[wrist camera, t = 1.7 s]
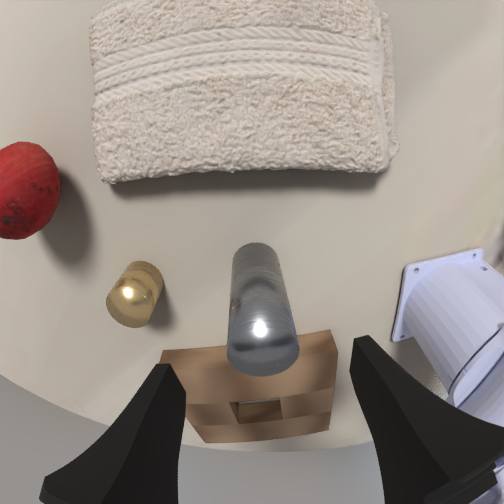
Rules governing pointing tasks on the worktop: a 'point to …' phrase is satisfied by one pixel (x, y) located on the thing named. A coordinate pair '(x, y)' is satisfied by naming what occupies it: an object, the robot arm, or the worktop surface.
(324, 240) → the worktop surface
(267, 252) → the long steel pin
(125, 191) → the worktop surface
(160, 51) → the washcloth
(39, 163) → the onion
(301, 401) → the walnut hole plate
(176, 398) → the robot arm
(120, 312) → the short brass pin
